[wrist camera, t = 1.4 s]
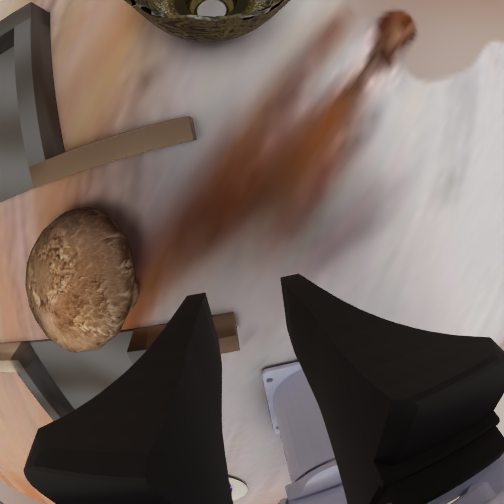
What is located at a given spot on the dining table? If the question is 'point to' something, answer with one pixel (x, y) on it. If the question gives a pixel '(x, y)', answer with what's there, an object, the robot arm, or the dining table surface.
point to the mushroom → (81, 280)
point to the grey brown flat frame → (53, 168)
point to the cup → (207, 17)
